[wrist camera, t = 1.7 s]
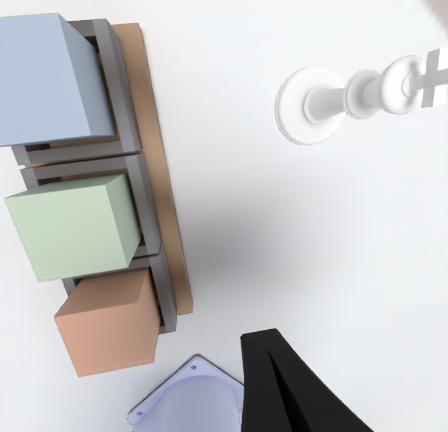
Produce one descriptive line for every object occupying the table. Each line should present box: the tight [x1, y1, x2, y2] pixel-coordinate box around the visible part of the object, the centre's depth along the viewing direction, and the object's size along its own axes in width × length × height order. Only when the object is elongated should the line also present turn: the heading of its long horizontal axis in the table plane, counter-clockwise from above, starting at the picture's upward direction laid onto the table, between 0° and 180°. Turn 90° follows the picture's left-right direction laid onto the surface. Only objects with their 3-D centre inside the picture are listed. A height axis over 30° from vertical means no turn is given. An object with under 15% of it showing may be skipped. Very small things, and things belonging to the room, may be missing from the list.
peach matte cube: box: [54, 267, 161, 377], centre depth 14 cm, size 4×4×4 cm
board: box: [11, 19, 193, 335], centre depth 15 cm, size 19×8×4 cm, turn 7°
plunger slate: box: [0, 13, 116, 147], centre depth 11 cm, size 4×4×4 cm
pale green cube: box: [4, 173, 141, 282], centre depth 12 cm, size 4×4×4 cm
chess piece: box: [275, 47, 448, 145], centre depth 12 cm, size 5×5×10 cm
